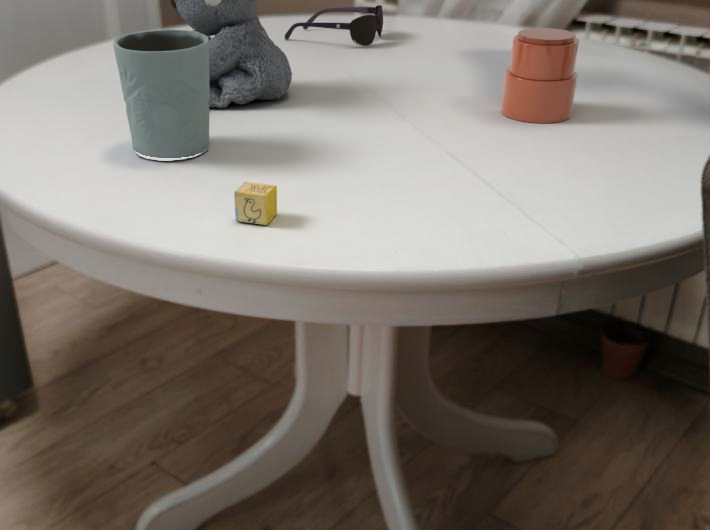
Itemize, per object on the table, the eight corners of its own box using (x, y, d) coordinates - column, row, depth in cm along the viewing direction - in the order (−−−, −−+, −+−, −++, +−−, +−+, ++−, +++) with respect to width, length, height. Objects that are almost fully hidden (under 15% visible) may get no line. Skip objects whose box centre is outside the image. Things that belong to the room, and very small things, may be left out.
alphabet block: (247, 210, 77) (245, 179, 75) (278, 213, 76) (276, 183, 74) (235, 222, 74) (233, 191, 73) (267, 226, 74) (265, 195, 72)
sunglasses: (365, 50, 132) (366, 18, 129) (277, 43, 136) (276, 11, 134) (390, 33, 142) (391, 3, 140) (307, 27, 147) (306, -2, 144)
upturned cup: (533, 99, 108) (544, 23, 103) (586, 115, 102) (599, 35, 97) (486, 110, 104) (494, 31, 98) (537, 127, 98) (549, 45, 92)
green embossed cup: (172, 129, 97) (161, 25, 91) (236, 145, 92) (229, 36, 86) (108, 153, 90) (91, 41, 84) (174, 171, 86) (161, 54, 79)
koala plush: (187, 75, 119) (174, -74, 108) (306, 81, 116) (304, -71, 105) (142, 109, 105) (121, -58, 94) (276, 117, 101) (270, -55, 91)
